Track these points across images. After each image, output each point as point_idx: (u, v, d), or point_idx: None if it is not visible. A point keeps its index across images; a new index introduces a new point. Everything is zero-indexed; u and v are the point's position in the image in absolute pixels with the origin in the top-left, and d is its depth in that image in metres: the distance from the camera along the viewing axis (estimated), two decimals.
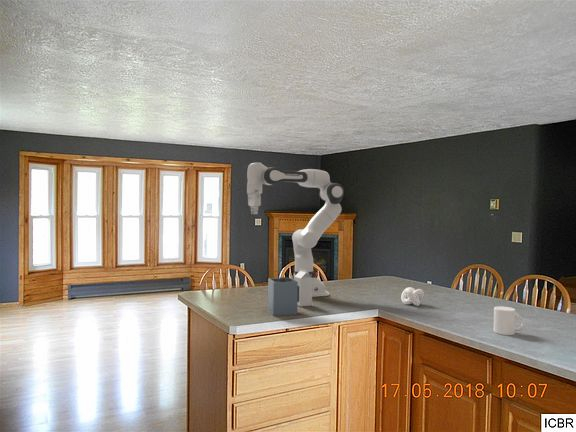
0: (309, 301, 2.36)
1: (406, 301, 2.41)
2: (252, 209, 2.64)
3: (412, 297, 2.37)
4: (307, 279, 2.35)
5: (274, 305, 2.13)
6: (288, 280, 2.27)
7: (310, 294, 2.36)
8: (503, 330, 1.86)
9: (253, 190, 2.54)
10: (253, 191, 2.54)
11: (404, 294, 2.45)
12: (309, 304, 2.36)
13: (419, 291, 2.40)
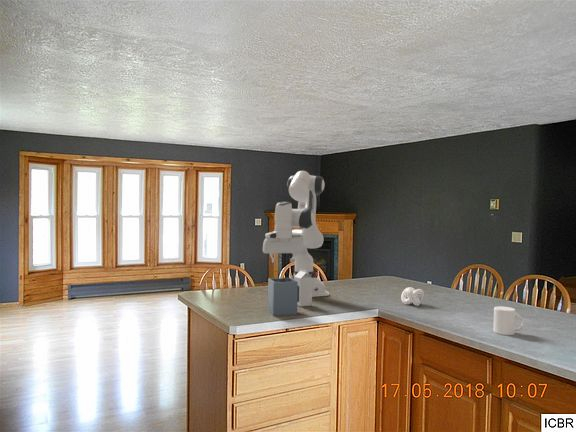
0: (309, 301, 2.36)
1: (406, 301, 2.41)
2: (272, 257, 2.19)
3: (412, 297, 2.37)
4: (307, 279, 2.35)
5: (274, 305, 2.13)
6: (288, 280, 2.27)
7: (310, 294, 2.36)
8: (503, 330, 1.86)
9: (292, 235, 2.20)
10: (292, 236, 2.20)
11: (404, 294, 2.45)
12: (309, 304, 2.36)
13: (419, 291, 2.40)
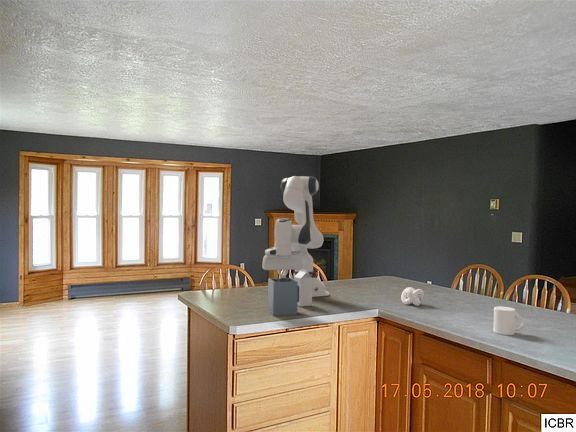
0: (309, 301, 2.36)
1: (406, 301, 2.41)
2: (280, 273, 2.20)
3: (412, 297, 2.37)
4: (307, 279, 2.35)
5: (274, 305, 2.13)
6: (288, 280, 2.27)
7: (310, 294, 2.36)
8: (503, 330, 1.86)
9: (291, 251, 2.20)
10: (291, 252, 2.20)
11: (404, 294, 2.45)
12: (309, 304, 2.36)
13: (419, 291, 2.40)
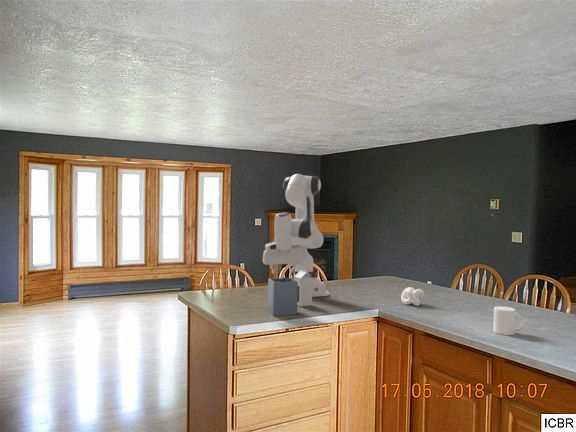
0: (309, 301, 2.36)
1: (406, 301, 2.41)
2: (272, 268, 2.19)
3: (412, 297, 2.37)
4: (307, 279, 2.35)
5: (274, 305, 2.13)
6: (288, 280, 2.27)
7: (310, 294, 2.36)
8: (503, 330, 1.86)
9: (291, 245, 2.20)
10: (291, 247, 2.20)
11: (404, 294, 2.45)
12: (309, 304, 2.36)
13: (419, 291, 2.40)
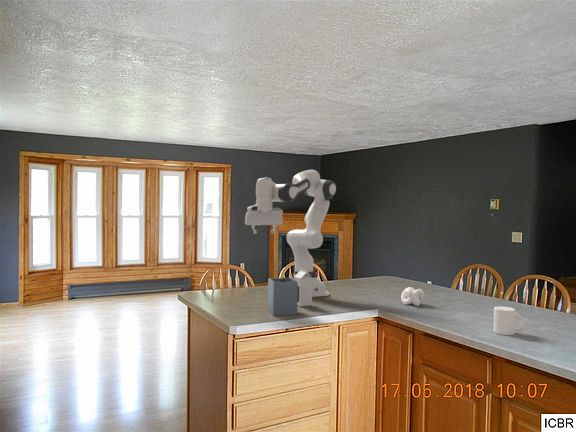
0: (309, 301, 2.36)
1: (406, 301, 2.41)
2: None
3: (412, 297, 2.37)
4: (307, 279, 2.35)
5: (274, 305, 2.13)
6: (288, 280, 2.27)
7: (310, 294, 2.36)
8: (503, 330, 1.86)
9: (272, 208, 2.37)
10: (272, 209, 2.37)
11: (404, 294, 2.45)
12: (309, 304, 2.36)
13: (419, 291, 2.40)
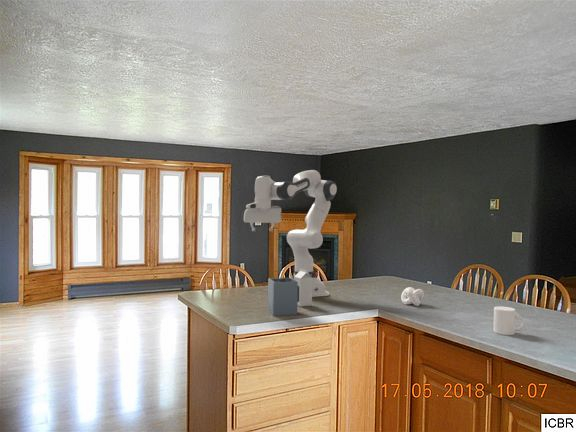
0: (309, 301, 2.36)
1: (406, 301, 2.41)
2: (252, 226, 2.38)
3: (412, 297, 2.37)
4: (307, 279, 2.35)
5: (274, 305, 2.13)
6: (288, 280, 2.27)
7: (310, 294, 2.36)
8: (503, 330, 1.86)
9: (270, 206, 2.39)
10: (270, 207, 2.39)
11: (404, 294, 2.45)
12: (309, 304, 2.36)
13: (419, 291, 2.40)
